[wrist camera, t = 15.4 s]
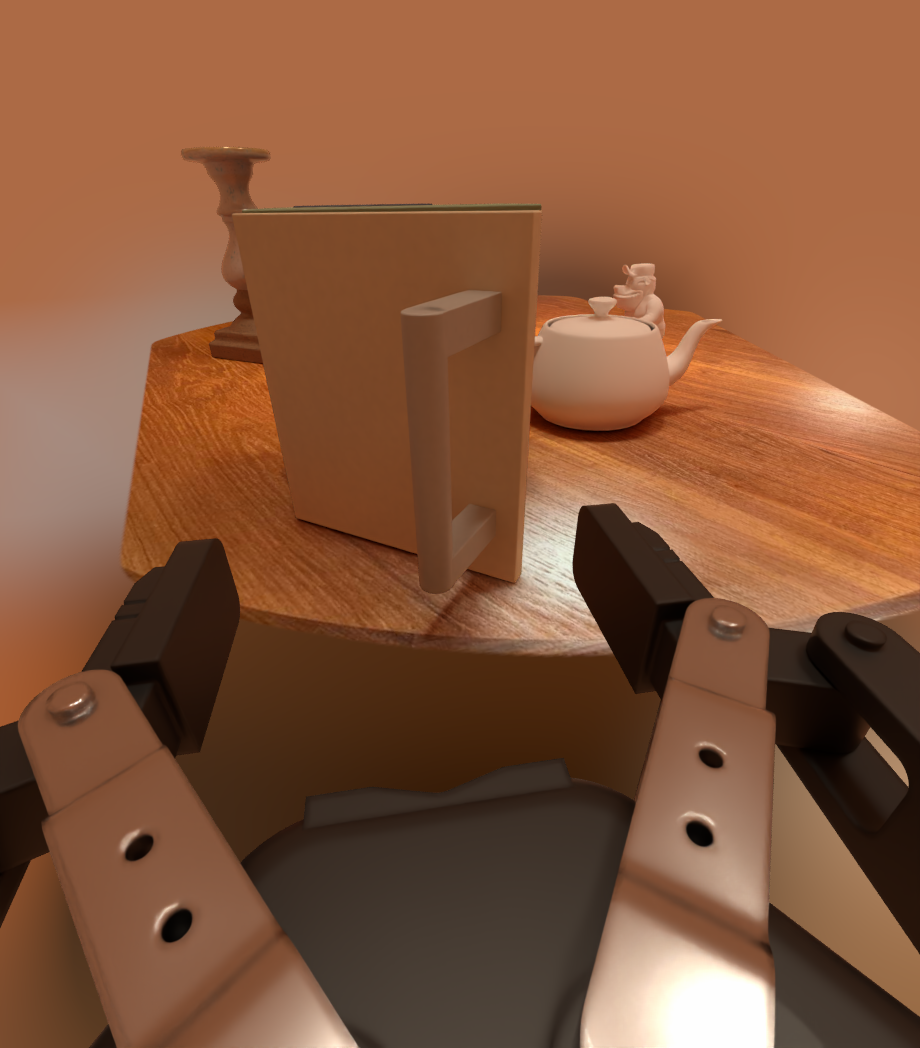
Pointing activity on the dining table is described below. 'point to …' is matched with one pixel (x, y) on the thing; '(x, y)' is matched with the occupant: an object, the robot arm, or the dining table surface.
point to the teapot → (605, 368)
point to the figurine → (640, 295)
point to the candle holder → (233, 241)
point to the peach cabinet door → (402, 375)
